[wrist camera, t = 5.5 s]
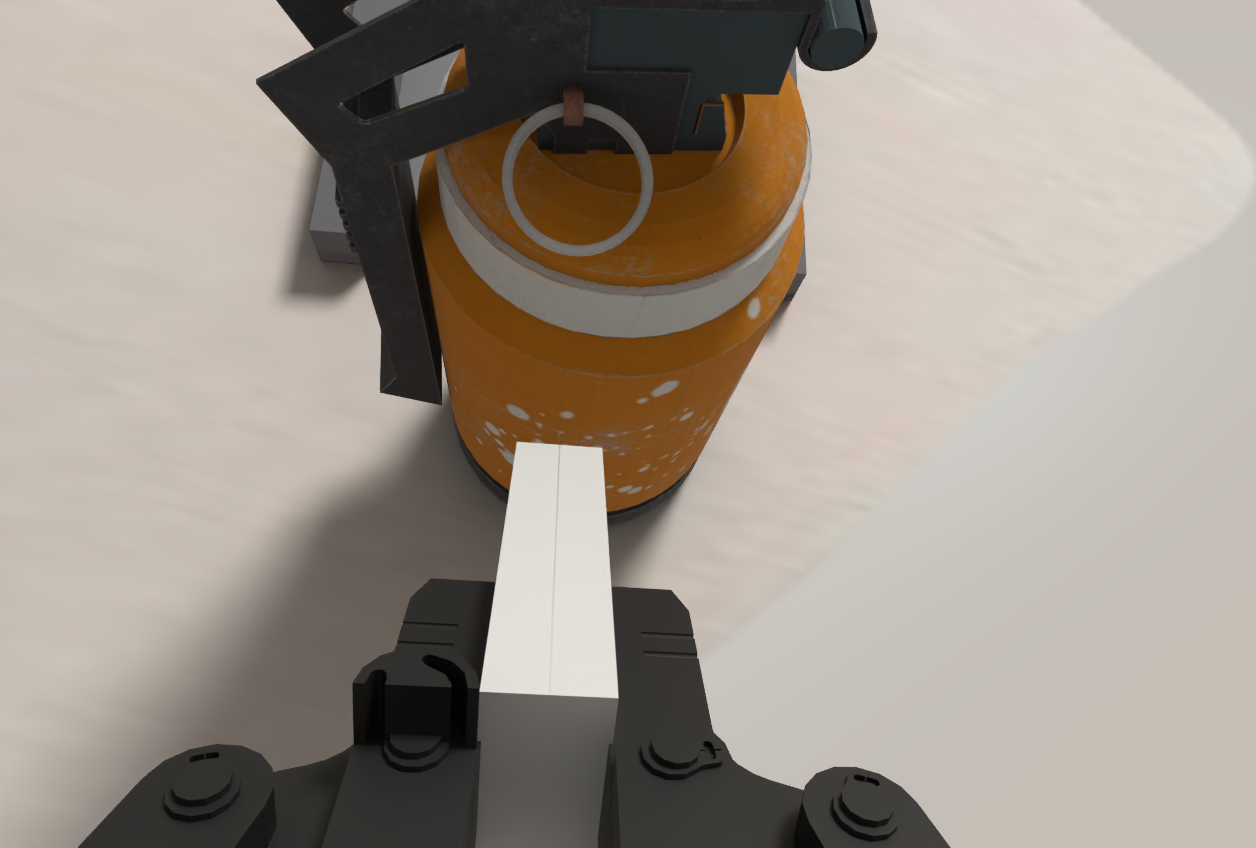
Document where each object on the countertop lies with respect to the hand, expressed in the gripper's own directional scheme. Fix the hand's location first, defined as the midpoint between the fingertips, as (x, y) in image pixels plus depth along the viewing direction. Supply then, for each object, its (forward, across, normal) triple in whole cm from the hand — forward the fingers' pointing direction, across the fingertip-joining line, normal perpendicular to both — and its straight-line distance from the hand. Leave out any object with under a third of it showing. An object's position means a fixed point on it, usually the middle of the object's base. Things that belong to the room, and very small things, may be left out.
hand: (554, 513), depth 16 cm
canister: (+16, 0, -5) cm, 16 cm away
